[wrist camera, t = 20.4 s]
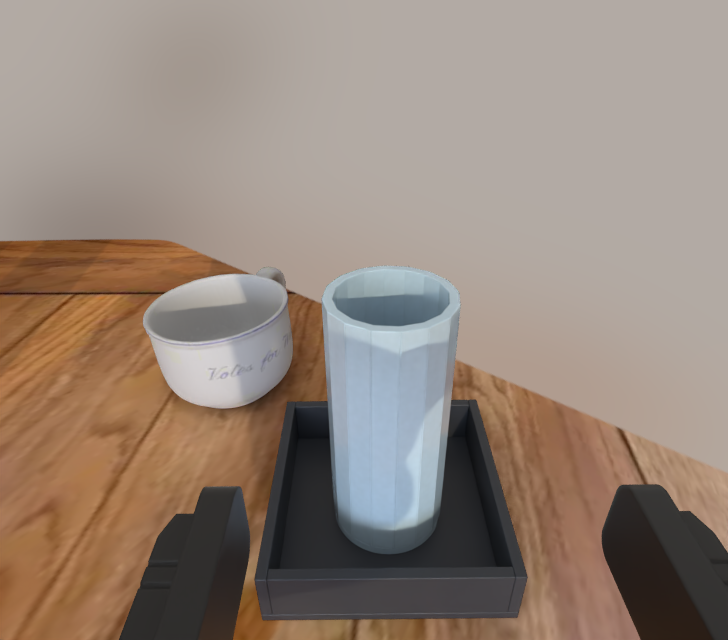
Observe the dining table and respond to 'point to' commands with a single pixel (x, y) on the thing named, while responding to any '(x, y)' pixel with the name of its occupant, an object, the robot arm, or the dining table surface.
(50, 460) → the dining table surface
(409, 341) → the tumbler
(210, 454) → the dining table surface
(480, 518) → the tray
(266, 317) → the teacup
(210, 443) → the dining table surface
